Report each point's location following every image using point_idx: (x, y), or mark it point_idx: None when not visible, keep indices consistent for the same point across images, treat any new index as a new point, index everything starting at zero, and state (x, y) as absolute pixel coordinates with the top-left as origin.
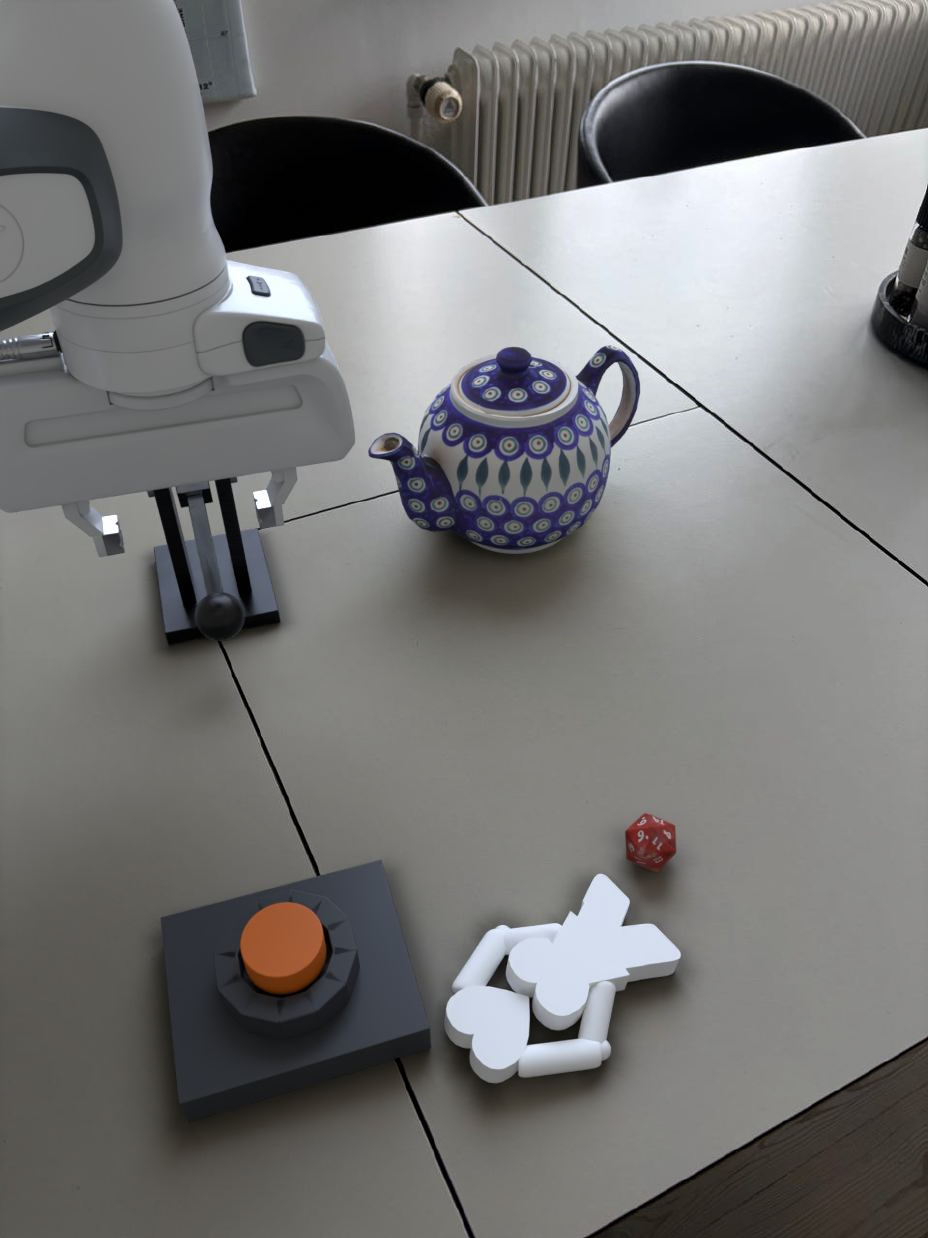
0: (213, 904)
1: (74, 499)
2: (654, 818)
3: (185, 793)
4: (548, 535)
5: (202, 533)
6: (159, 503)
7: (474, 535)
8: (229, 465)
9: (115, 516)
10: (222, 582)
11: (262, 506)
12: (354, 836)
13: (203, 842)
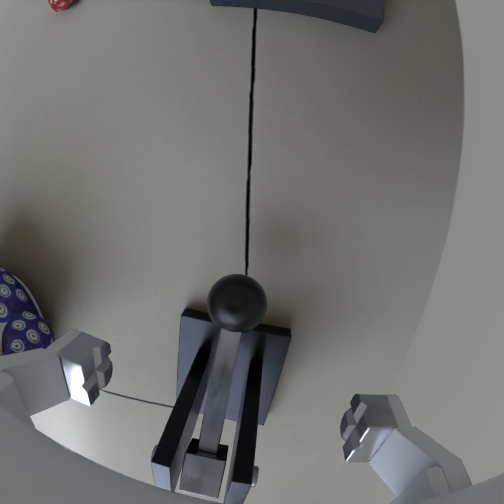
0: (344, 8)
1: (474, 493)
2: (51, 2)
3: (334, 144)
4: None
5: (215, 408)
6: (251, 458)
7: (20, 295)
8: (21, 464)
9: (349, 459)
10: None
11: (74, 366)
12: (214, 42)
13: (333, 88)
